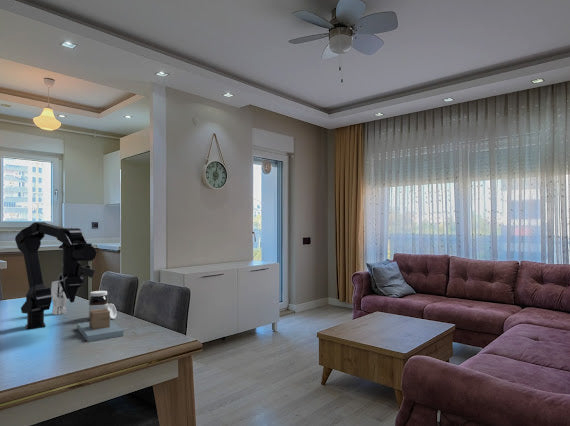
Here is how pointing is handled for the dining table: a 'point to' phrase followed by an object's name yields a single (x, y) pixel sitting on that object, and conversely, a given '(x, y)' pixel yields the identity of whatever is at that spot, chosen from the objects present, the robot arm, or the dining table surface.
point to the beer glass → (58, 299)
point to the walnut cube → (99, 319)
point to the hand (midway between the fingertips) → (70, 300)
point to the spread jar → (101, 303)
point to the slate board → (99, 331)
